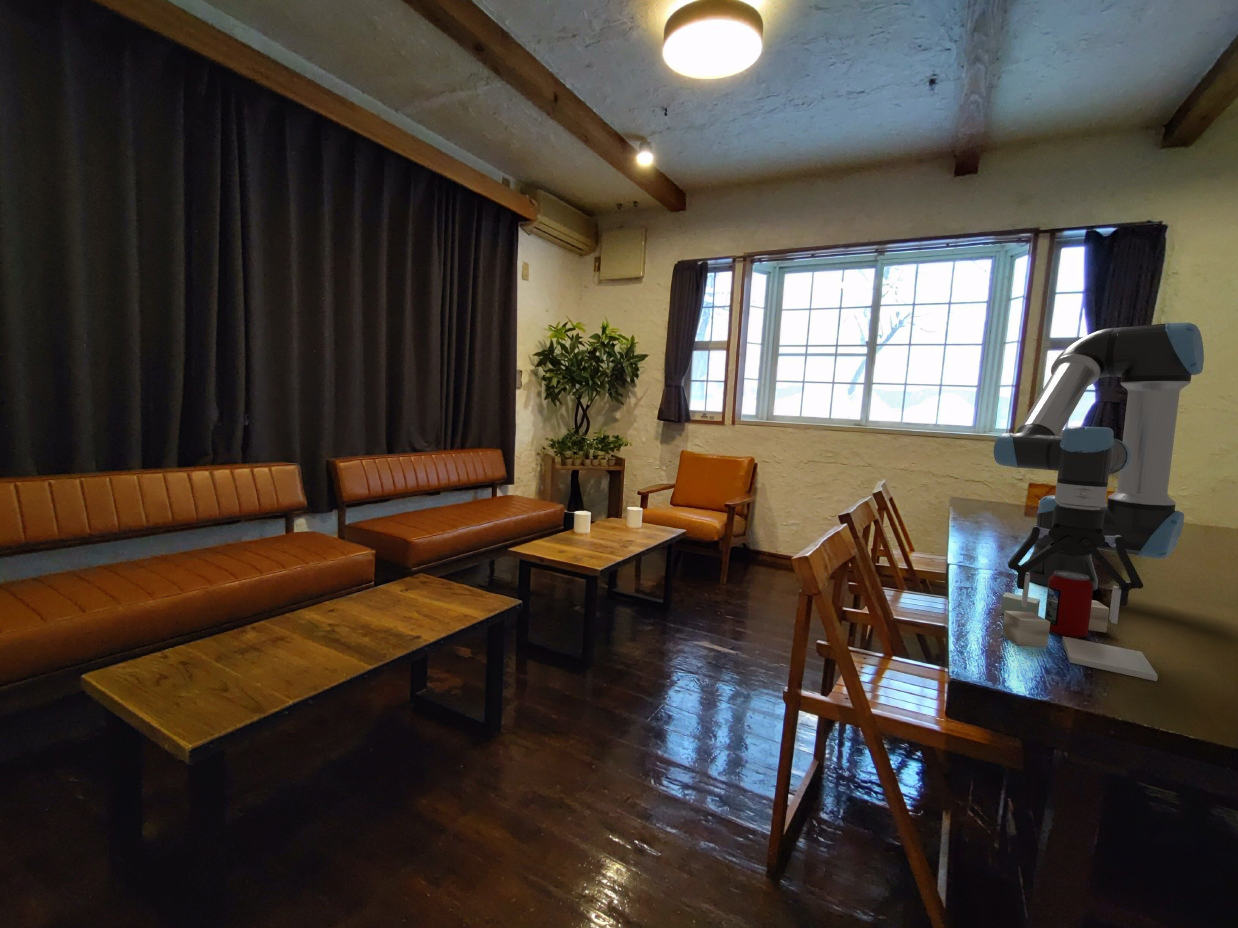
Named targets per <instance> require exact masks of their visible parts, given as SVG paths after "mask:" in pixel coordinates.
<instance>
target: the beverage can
mask: <svg viewBox="0 0 1238 928" xmlns="http://www.w3.org/2000/svg"><path fill="white" fill-rule="evenodd" d="M1089 578H1090V577H1089V576H1087V575H1084V574H1081V573H1077V572H1071V571H1062V570H1057V571H1054V574H1053V575H1052V576H1051V577H1050V578H1049V583H1048V586H1047V590H1046V591H1047V592H1046V599H1045V601H1046V602H1045V609H1044V610H1045V612H1044V619H1046V620H1048V621H1050V629H1049V633H1050V632H1051V633H1052V634H1054V635H1056V636H1060V637H1062V636H1064V637H1069V638H1074V639H1080V638H1084V637H1086V636H1088V634H1089V630H1088V629H1089V621H1090V613H1091V604H1092V600H1093V593H1094V591H1093V585H1092V583H1091V581H1090V579H1089Z"/></svg>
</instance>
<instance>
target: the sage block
mask: <svg viewBox="0 0 1238 928" xmlns="http://www.w3.org/2000/svg"><path fill="white" fill-rule="evenodd" d="M1021 601H1022V594H1016V593H1013V592H1012V593H1011V592H1009V591H1008V592H1006V591H1005V592H1004V593H1003V595H1002V596H1001V605H1000V606H1001V607H1000V614H1002V615H1004V611H1020V612H1032V613H1034V614H1036V615H1038V616H1039V614H1040V613H1039V612H1040V603H1041V599H1039V598H1036V597H1030V596H1028V600H1027V607H1022V604H1021Z"/></svg>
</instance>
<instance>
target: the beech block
mask: <svg viewBox="0 0 1238 928" xmlns="http://www.w3.org/2000/svg"><path fill="white" fill-rule="evenodd" d="M1109 615H1110V608H1109V607H1107V606H1106V605H1104V604H1103V603H1102V602H1100V601H1097V600H1093V599H1092V604H1091V613H1090V621H1089V629H1088V631H1092V632H1100V633H1101V632H1102V633H1107V632H1108V622H1109Z"/></svg>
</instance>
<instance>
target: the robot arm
mask: <svg viewBox="0 0 1238 928" xmlns="http://www.w3.org/2000/svg"><path fill="white" fill-rule="evenodd" d="M1204 351H1205V350H1204V342H1203V337H1202V333H1201V331H1200V329H1199V327H1198V326H1197V325H1196V324H1195V323H1192V322H1165V323H1157V324H1155V323H1154V324H1145V325H1133V326H1125V327H1122V326H1121V327H1111V328H1104V329H1101V330H1097V331H1094V332H1092V333H1090V334H1088V335H1085V336H1083V337H1082V338H1080V339H1078V340H1076V341H1075V342H1073V343H1072V344H1071V345H1069V346H1068V347H1066V349H1063V351H1062V352H1061V353H1060V354H1058V356H1057V358H1056V359H1055V360H1054V362H1053V364H1052V365H1051V368H1050V374H1051V375H1050V377H1049V379H1048V380H1047V382H1046V384H1045V385H1044V387H1043V388H1042V390H1041V392H1040V394H1038V397H1037V398H1036V400H1035V402H1034V403H1033V405H1032V406H1031V408H1030V410H1029V411H1028V413H1027V414H1026V416H1025V418H1024V419H1023V421H1022V422H1021V424H1020V426H1019V427H1018V429H1017V430H1016V431H1015V433H1013V432H1007V433H1002V434H999V435H998V436H997V437H996V439H995V441H994V445H993V457H994V461H995V463H996V464H998V465H999V466H1002V467H1010V468H1016V469H1030V470H1031V469H1032V470H1042V471H1043V470H1044V471H1055V472H1057V478H1056V486H1055V487H1056V488H1055V494H1053V495H1046V496H1043V497H1041V498H1040V499H1039V503H1038V509H1037V512H1036V514H1037V516H1036V524H1035V525H1032V526H1031V529H1030V533H1029V535H1028V537H1027V538H1026V539H1025V541H1024V542H1023V543H1022V545H1020V546H1019V548H1018V549H1017V551H1016V552H1015V553H1014V554H1013V556H1011V558H1010V559H1009V560H1008V562H1007V567H1008V568H1009V569H1010V570H1013V571H1015V572H1016V573H1017V574H1016V575H1017V578H1016V588H1017V590H1022V592H1021V593H1022V594H1021V595H1022V601H1021V604H1022V607H1027V600H1028V597H1029V592H1030V591H1029V589H1030V582H1032V583H1035V584H1038V585H1041V586H1046V587H1048V583H1049V578H1050V577H1051V576H1052V575H1053V574H1054V571H1057V570H1062V571H1071V572H1077V573H1081V574H1084V575H1087V576H1089V577H1090V578H1089V579H1090V581H1091V583H1092V585H1093V592H1094V591H1096V590H1098V584H1099V580H1098V576H1097V574H1096V570H1095V566H1094V563H1093V559H1092V556H1093V558H1094V559H1096V561H1097V562H1098V563H1099V565H1101V567H1103V569H1104V570H1105V571H1106V572H1107V573H1108V574H1109V576H1110V577H1111V578H1112V579H1113V580H1114V581H1115V582H1116V583H1117V585H1118V586H1117V585H1112V592H1111V600H1110V606H1109V607H1110V608H1109V615H1108V620H1109V621H1110V622H1111V623H1112V624H1116V625H1117V624H1118V622H1119V621H1118V619H1119V613H1120V612H1119V611H1120V607H1126V606H1127V605H1128V602H1129V601H1128V599H1129V593H1130V591H1131V590H1134V589H1139V590H1140V589H1142V588H1144V583H1143V582H1142V580H1141V577H1140V576H1139V573H1138V571H1137V569H1136V568H1135V566H1134V564H1133V562H1132V561H1131V558H1130V556H1129V555H1131V556H1135V557H1138V558H1149V559H1156V560H1162V559H1166V558H1168V557H1169V556H1171V554H1172V553H1173V551H1174V550H1175V547H1176V546H1177V544H1178V541H1179V539H1180V537H1181V534H1182V531H1183V527H1184V523H1185V521H1184V520H1185V514H1184V512H1182V511H1180V510H1176V504H1177V503H1176V501H1175V500H1173V499H1172V498H1171V497H1170V496H1169V495H1168V491H1169V482H1170V475H1171V466H1172V460H1173V459H1172V458H1173V450H1174V444H1175V443H1174V442H1175V435H1176V427H1177V417H1178V408H1179V400H1180V395H1181V394H1180V393H1181V391H1182V390H1183V389H1184V388H1185V387H1187V386H1189V385H1190V384H1191V381H1192V376H1197V375H1200V374H1201V373H1202V372H1203V370H1204V363H1205V359H1204V358H1205V356H1204V355H1205V353H1204ZM1105 377H1111V378H1112V377H1113V378H1115V377H1117V378H1118V377H1119V378H1120V385H1121V386H1122V387H1123V388H1124V389H1126V390H1127V398H1126V401H1127V402H1126V407H1125V410H1126V411H1125V418H1124V428H1123V433H1122V441H1121V440H1119V439H1117V438H1114V430H1113V429H1112V428H1111V427H1102V426H1078V425H1076V426H1073V425H1072V426H1071V425H1070V426H1067V427H1065V426H1066V425H1067V424H1068V421H1069V419H1071V417H1072V415H1073V413H1074V411H1075V409H1076V408H1077V406H1078V404H1079V402H1080V401H1081V399H1082V398H1083V396H1084V395H1085V393H1086V390H1087V389H1088V387H1089V386H1091V385H1094V384H1095V383H1096V382H1097V381H1098V380H1099V378H1100V379H1101V378H1105ZM1061 434H1062V435H1061ZM1115 473H1118V481H1117V487H1116V488H1117V489H1116V491H1115V492H1113V493H1111V494H1110V495H1108V496H1107V493H1108V485H1109V479H1110V478H1109V477H1110V475H1113V474H1115ZM1032 548H1033V551H1032V552H1031V554H1030V556H1029V558H1028V559H1027V560H1026V561H1025V562H1023V563H1022V564H1020V562H1022V560H1023V559H1024V558H1025V556H1026V555H1027V554H1028V553H1029V551H1030V550H1031V549H1032ZM1099 550H1101V551H1107V552H1114V553H1116V555H1117V557H1118V559H1119V561H1120V562H1121V565H1122V566H1123V568H1124V570H1125V572H1126V574H1127V576H1128V578H1129V580H1126V579H1124V578H1123V577H1122V576H1121V574H1119V572H1118V571H1117V570H1116V569H1115V568H1114V567H1113V566H1112V564H1111V563H1110V562H1109V561H1108V560H1107V558H1106V557H1104V555H1102V553H1101V552H1100V551H1099Z"/></svg>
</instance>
